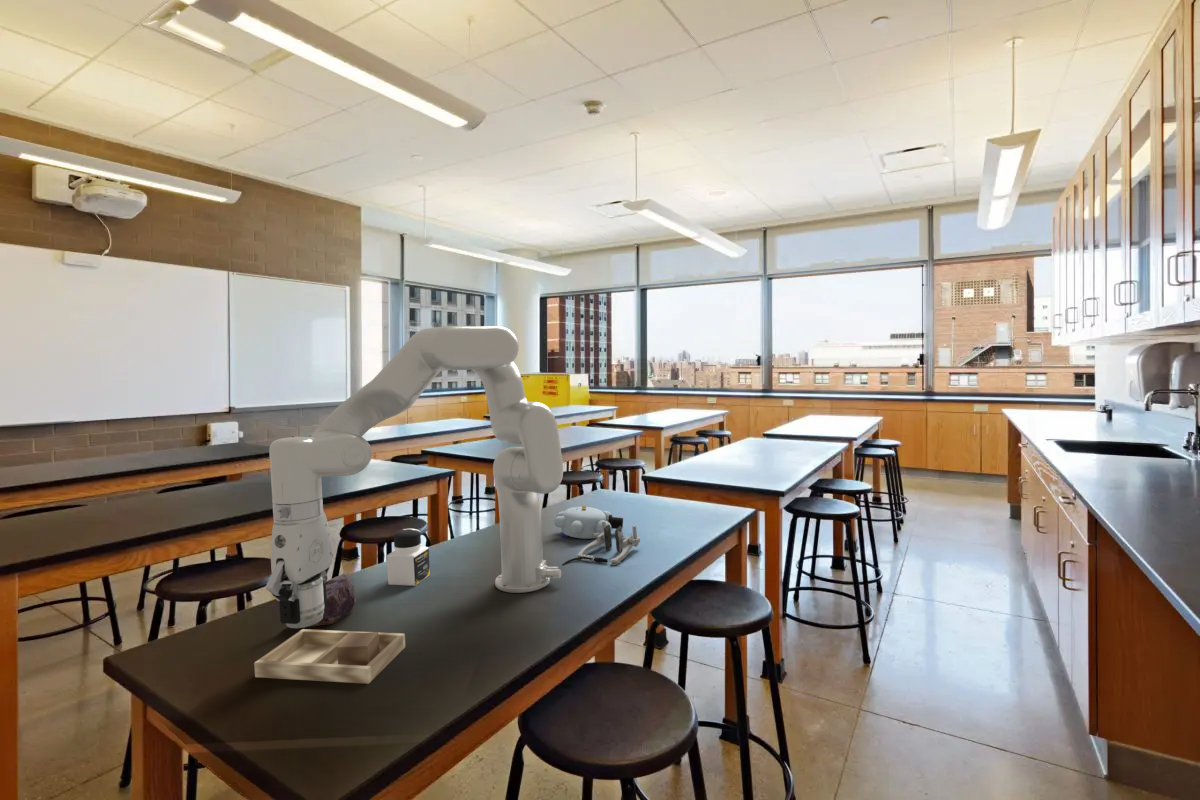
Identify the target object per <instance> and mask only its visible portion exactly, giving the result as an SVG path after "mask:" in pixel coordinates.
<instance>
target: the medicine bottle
mask: <svg viewBox="0 0 1200 800" xmlns="http://www.w3.org/2000/svg"><path fill="white" fill-rule="evenodd" d="M393 546H394V547H393V548H394V551H392V552H390V553H388V554H387V555H386V564H387V565H386V566H387V567H386V568H387V581H388V582H387V584H388V585H389V586H409V587H415V586H418V585H419V584H420V583H421V582H422V581H424V580H425V579H427V578H428V577H429V576H430V575H431V568H430V565H431V564H430V551H429V550H430V549H429V546H422V537H421V531H420V530H419V529H416V528H403V529H400V530H398V531H396V532H395V533H394V534H393Z"/></svg>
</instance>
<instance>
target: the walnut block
mask: <svg viewBox="0 0 1200 800" xmlns="http://www.w3.org/2000/svg"><path fill="white" fill-rule="evenodd" d="M368 632H369V633H349V634H348V635H347V637H346V638H345V639H344V640H343V641H342V642H341V643H340V644H339V646H338V647H337V656H338V664H339V665H358V666H366V665H367V664H368V663H370V662H371V661H372V660H373V659H374V658H375V657H376V656H377V655H378V654H379V653H380V651H379V633H378V632H379V631H377V632H376V631H368Z"/></svg>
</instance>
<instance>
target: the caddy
mask: <svg viewBox="0 0 1200 800" xmlns="http://www.w3.org/2000/svg"><path fill="white" fill-rule="evenodd" d="M369 632H370V631H358V630H357V631H354V630H353V631H352V630H350V631H349V630H330V629H329V630H328V629H326V630H325V629H310V628H309V629H307V628H306V629H305V628H302V629H300V630H299V631H298V632H296V633H295V634H293V635H292V636H290V637H289V638H288V639H286V640H285V641H283V642H282V643H281V644H279V645H278V646H276V647H275V648H273V649H272V650H271V651H269V652H268V653H266V654H265V655H263V656H262V657H260V658H258V660H256V661H254V663H253V665H254V677H255V678H258V679H260V678H263V679H277V680H278V679H279V680H295V681H296V680H298V681H313V682H315V681H316V682H331V683H334V682H335V683H349V684H350V683H351V684H366V685H369V684H370V683H372V681H373V680H375V678H376V677H377V676H378V675H379V674H380V673H382V671H383V670H384V669H385V668H386V667H387V666H388V665H389V664H390V663H391V662H392V661H393V660H394V659H396V657H397V656H398V655H399V654H400V653H401V652H402V651H403V650H404V649H405V648H406V633H403V632H401V633H400V632H381V631H377V632H378V633H379V651H380V653H379V654H378V655H377V656H376V657H375V658H374V659H373V660H372V661H371V662H370V663H368V664H367V665H366V666H358V665H339V664H338V656H337V647H338V646H339V644H340V643H341V642H342V641H343V640H344V639H345V638H346V637H347V635H348V634H349V633H369Z"/></svg>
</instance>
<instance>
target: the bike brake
mask: <svg viewBox="0 0 1200 800" xmlns="http://www.w3.org/2000/svg"><path fill="white" fill-rule="evenodd" d="M631 526H632V527H631V528H632V534H629V535H628V536H624V535H623V528H622V527H621V526H620V527H618V528H617V529H615V532H614V536H615V537H614V538H615V546H616V547H615V548H616V552H617V553H620V554H618V555H617V556H616V557H614V558H611V559H610V560H608V559H607V558H604V557H598V556H596V557H594V555H590V554H587V552H589V551H591V550H593V549H595V548H598V547H600V546H601V545H602V544H603V543H604V547H605V551H606V552H608V551H609V550H611V549H612V547H613V541H612V530H611V529H610V525H607V526H606V521H602V528H603V532H602V533H594V535H593V536H594V537H597V538H595V540H594V539H593V541H592V542H590V543H588V544H587V545H585V546H584V547H583V548H581V550H580V551H579V552H578V553H577V557H574V558H571V559H568V560H567V561H565V562H563V563H562V564H561V566H565V565H567V564H569V563H571V562H574V561H586V562H590V563H591V562H596V563H600V564H602V563H603V564H606V563H608V562H609V563H611V565H612V566H617V565H618V564H622V562H621V561H622V560H624V559H625V558H626V557H627V555H628V554H629V552H630V550H631V549H633V547H638V546H639V543H640V542H641V537H640V535H638V532H637V525H635V524H633V525H631Z"/></svg>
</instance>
